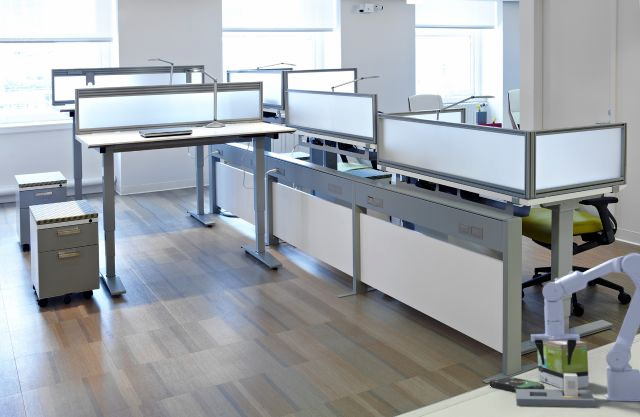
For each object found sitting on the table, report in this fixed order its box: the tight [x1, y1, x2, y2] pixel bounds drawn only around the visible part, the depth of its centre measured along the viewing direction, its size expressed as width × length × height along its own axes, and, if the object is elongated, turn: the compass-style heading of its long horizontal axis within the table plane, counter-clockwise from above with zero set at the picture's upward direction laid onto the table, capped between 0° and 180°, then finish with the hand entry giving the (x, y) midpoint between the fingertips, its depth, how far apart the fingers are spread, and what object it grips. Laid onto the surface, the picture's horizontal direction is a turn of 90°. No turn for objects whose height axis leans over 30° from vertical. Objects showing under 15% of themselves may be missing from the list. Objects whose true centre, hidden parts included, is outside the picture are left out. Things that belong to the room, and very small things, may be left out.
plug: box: [563, 373, 579, 397], centre depth 230 cm, size 4×5×8 cm
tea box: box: [537, 340, 590, 390], centre depth 256 cm, size 15×10×15 cm
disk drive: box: [489, 376, 545, 394], centre depth 251 cm, size 10×3×15 cm
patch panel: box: [515, 389, 596, 408], centre depth 232 cm, size 22×14×2 cm, turn 77°
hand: (556, 364), depth 240 cm, fingers open, 7 cm apart
